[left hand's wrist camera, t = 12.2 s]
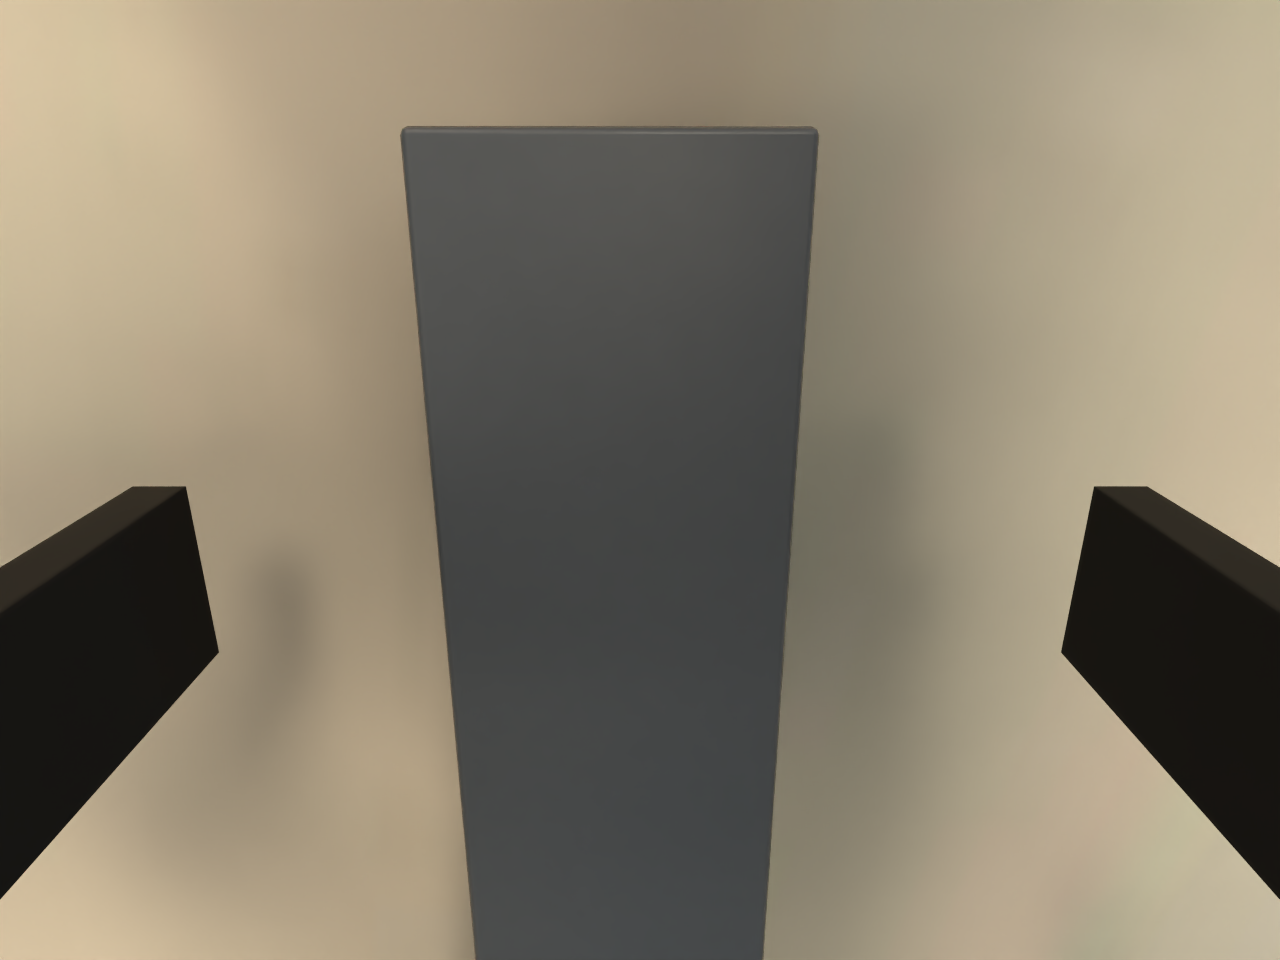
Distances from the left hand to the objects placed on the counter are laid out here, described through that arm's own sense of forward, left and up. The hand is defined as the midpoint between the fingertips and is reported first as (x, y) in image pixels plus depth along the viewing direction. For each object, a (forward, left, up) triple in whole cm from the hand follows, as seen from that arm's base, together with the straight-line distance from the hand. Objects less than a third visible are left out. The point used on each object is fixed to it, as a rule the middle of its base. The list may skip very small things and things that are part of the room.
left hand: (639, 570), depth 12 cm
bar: (+30, -14, -6) cm, 34 cm away
